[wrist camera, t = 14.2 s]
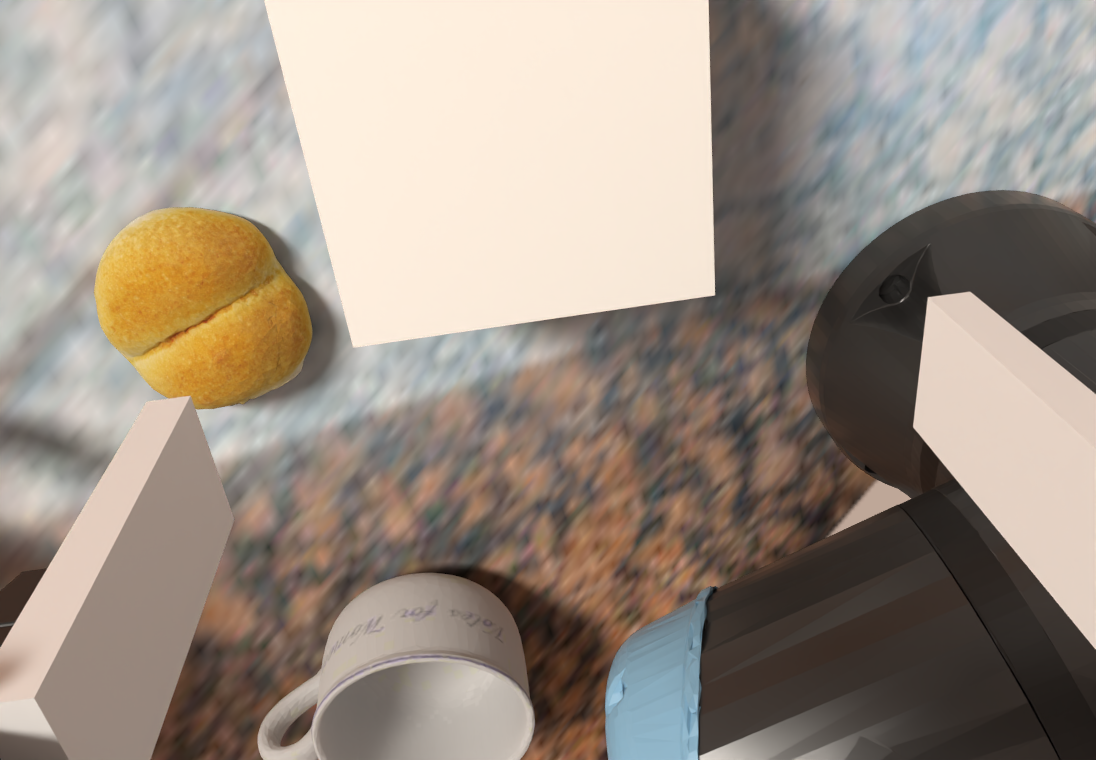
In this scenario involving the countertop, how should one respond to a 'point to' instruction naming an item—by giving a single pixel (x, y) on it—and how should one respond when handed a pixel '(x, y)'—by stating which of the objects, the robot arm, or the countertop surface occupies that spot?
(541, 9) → the cover
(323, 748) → the teacup
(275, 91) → the countertop surface
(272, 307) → the bread roll
